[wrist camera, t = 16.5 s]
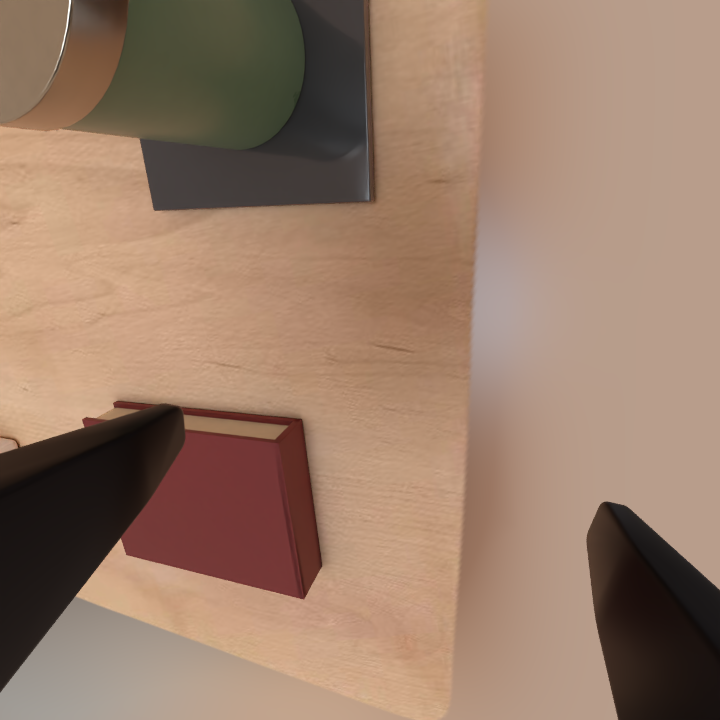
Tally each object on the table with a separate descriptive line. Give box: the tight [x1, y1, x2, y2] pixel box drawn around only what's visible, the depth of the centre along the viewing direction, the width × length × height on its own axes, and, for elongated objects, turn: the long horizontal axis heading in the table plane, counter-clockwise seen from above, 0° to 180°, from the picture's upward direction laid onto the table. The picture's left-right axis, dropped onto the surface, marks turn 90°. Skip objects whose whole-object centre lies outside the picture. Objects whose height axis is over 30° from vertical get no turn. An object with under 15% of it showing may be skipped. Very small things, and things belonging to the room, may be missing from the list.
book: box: [82, 401, 322, 599], centre depth 26 cm, size 13×10×2 cm
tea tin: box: [0, 0, 305, 150], centre depth 13 cm, size 7×7×10 cm
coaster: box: [140, 0, 375, 211], centre depth 18 cm, size 11×11×1 cm
